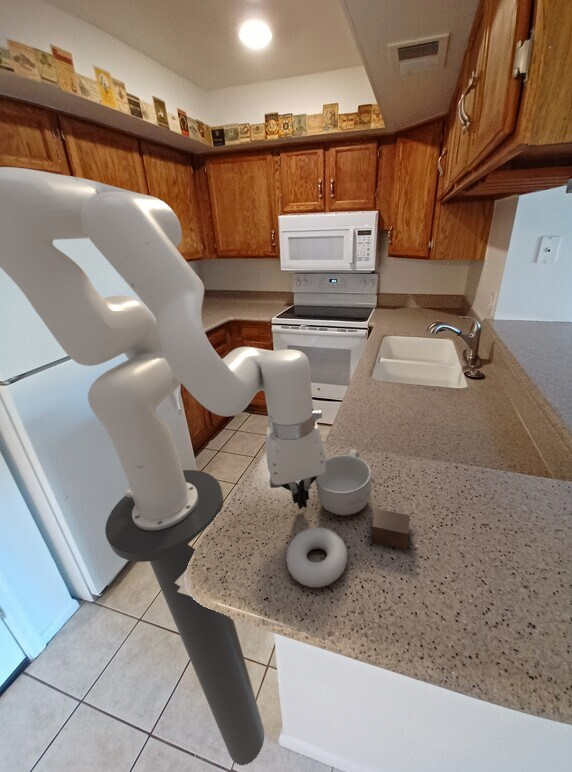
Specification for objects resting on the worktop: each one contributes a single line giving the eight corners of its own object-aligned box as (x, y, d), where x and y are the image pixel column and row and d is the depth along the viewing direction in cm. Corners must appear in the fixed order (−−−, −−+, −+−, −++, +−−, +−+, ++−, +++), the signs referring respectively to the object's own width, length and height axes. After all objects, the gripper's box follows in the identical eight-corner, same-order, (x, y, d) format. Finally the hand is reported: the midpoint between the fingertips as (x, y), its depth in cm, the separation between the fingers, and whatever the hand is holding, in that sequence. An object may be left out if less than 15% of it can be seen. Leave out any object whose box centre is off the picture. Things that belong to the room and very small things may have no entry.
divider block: (371, 542, 57) (372, 526, 55) (375, 524, 60) (375, 508, 59) (406, 550, 55) (408, 533, 54) (408, 531, 59) (409, 515, 57)
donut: (356, 550, 56) (306, 528, 60) (357, 536, 54) (305, 514, 59) (330, 604, 48) (274, 575, 52) (330, 590, 46) (272, 560, 51)
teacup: (354, 533, 59) (354, 500, 55) (305, 509, 64) (302, 478, 61) (385, 485, 69) (386, 455, 66) (340, 468, 75) (340, 439, 71)
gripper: (327, 404, 60) (331, 480, 68) (245, 420, 57) (260, 499, 65) (340, 424, 54) (344, 506, 62) (249, 444, 50) (265, 529, 58)
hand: (301, 502), depth 63 cm, fingers closed
